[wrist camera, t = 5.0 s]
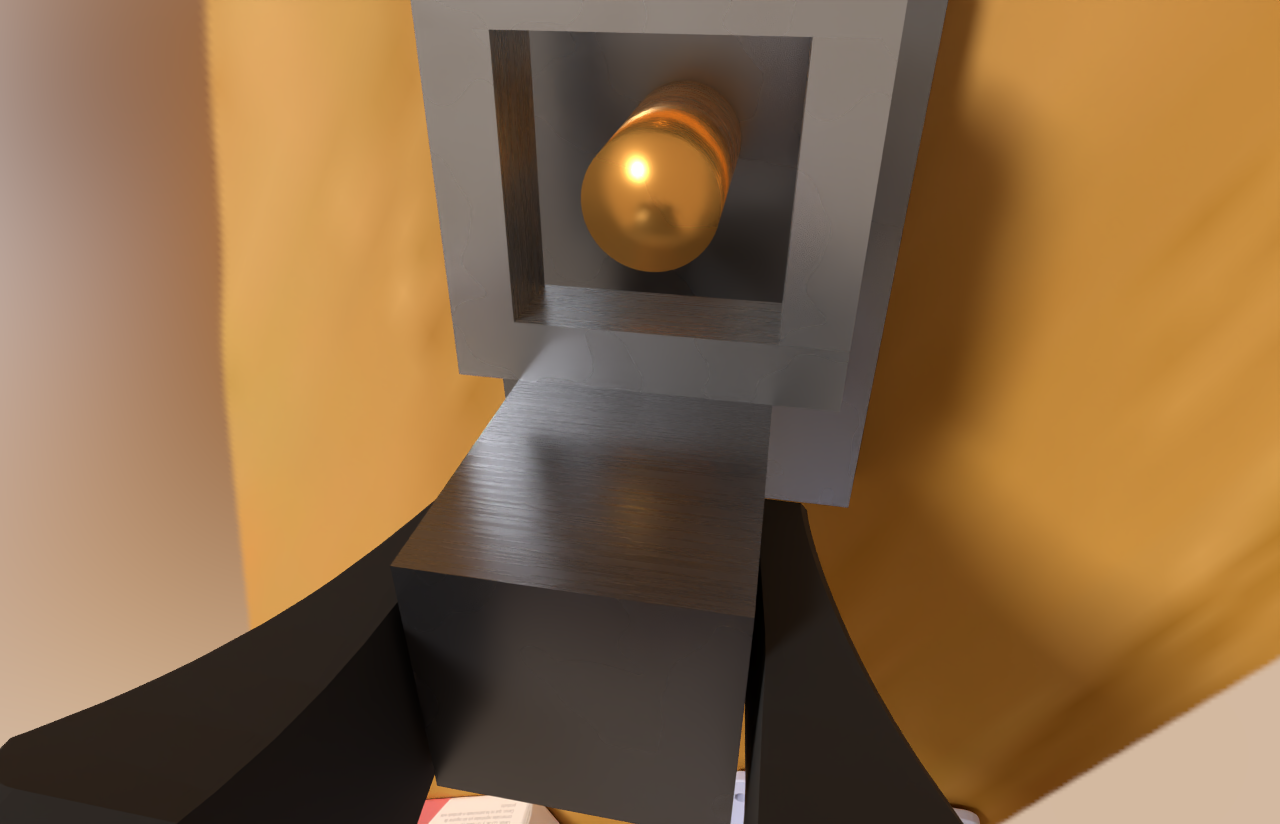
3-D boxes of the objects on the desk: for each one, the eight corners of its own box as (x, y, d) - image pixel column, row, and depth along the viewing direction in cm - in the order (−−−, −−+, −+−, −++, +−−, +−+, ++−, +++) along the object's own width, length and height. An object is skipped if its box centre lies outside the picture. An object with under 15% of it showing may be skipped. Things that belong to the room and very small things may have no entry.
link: (808, 547, 15) (807, 856, 10) (511, 509, 16) (369, 772, 11) (902, -61, 10) (1007, -82, 5) (454, -61, 11) (125, -81, 5)
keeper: (846, 480, 18) (854, 627, 15) (526, 444, 19) (459, 570, 16) (949, -60, 12) (1007, -40, 8) (470, -62, 13) (340, -45, 10)
